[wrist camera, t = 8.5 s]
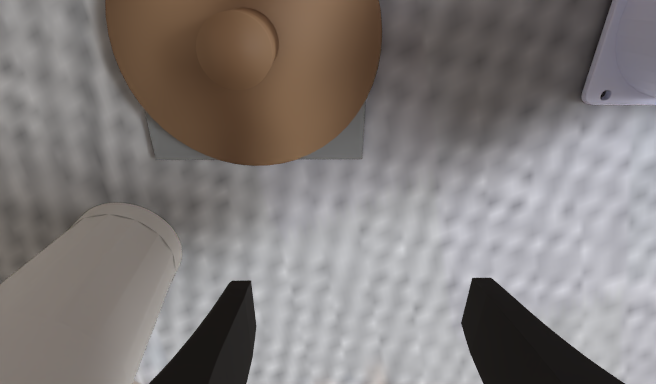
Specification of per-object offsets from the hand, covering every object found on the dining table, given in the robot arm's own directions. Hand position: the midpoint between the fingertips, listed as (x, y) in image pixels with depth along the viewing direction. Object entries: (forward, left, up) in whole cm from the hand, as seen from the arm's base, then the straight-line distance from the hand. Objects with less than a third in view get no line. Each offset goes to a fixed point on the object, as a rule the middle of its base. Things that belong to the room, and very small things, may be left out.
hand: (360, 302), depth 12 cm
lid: (+5, -7, -10) cm, 13 cm away
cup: (+13, +5, -10) cm, 17 cm away
